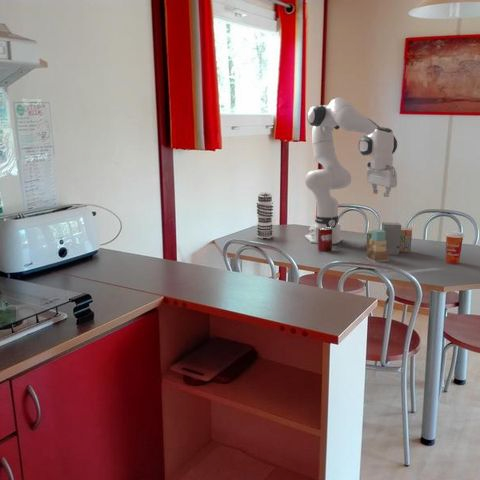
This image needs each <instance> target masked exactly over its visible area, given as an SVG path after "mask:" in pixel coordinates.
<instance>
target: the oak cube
mask: <svg viewBox="0 0 480 480" xmlns="http://www.w3.org/2000/svg"><path fill="white" fill-rule="evenodd" d="M369 250H371V251H374V252H385V251H386V240H385V241H374V240H372V239H370V245H369Z"/></svg>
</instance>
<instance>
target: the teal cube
mask: <svg viewBox="0 0 480 480" xmlns="http://www.w3.org/2000/svg"><path fill="white" fill-rule="evenodd" d="M371 231H372V238H371V239H372V240H374V241H385V234H386V231H384V230H382V228H380V229H379V228H378V229H372V230H371Z"/></svg>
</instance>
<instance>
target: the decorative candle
mask: <svg viewBox="0 0 480 480" xmlns="http://www.w3.org/2000/svg"><path fill="white" fill-rule="evenodd" d="M272 197H273V195H272V193H271V192H267V191H264V192H260V193H259V194H258V195H257V202H256V211H257V212H256V214H257V228H256V229H257V231H256V232H257V234H256V235H257V236H256V237H257V238H258V237H259V238H258V239H263V238H267V239H272V238H273V214H274V212H272V211H273V210H274V205H273V204H274V202H273V200H272ZM271 237H272V238H271Z"/></svg>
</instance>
